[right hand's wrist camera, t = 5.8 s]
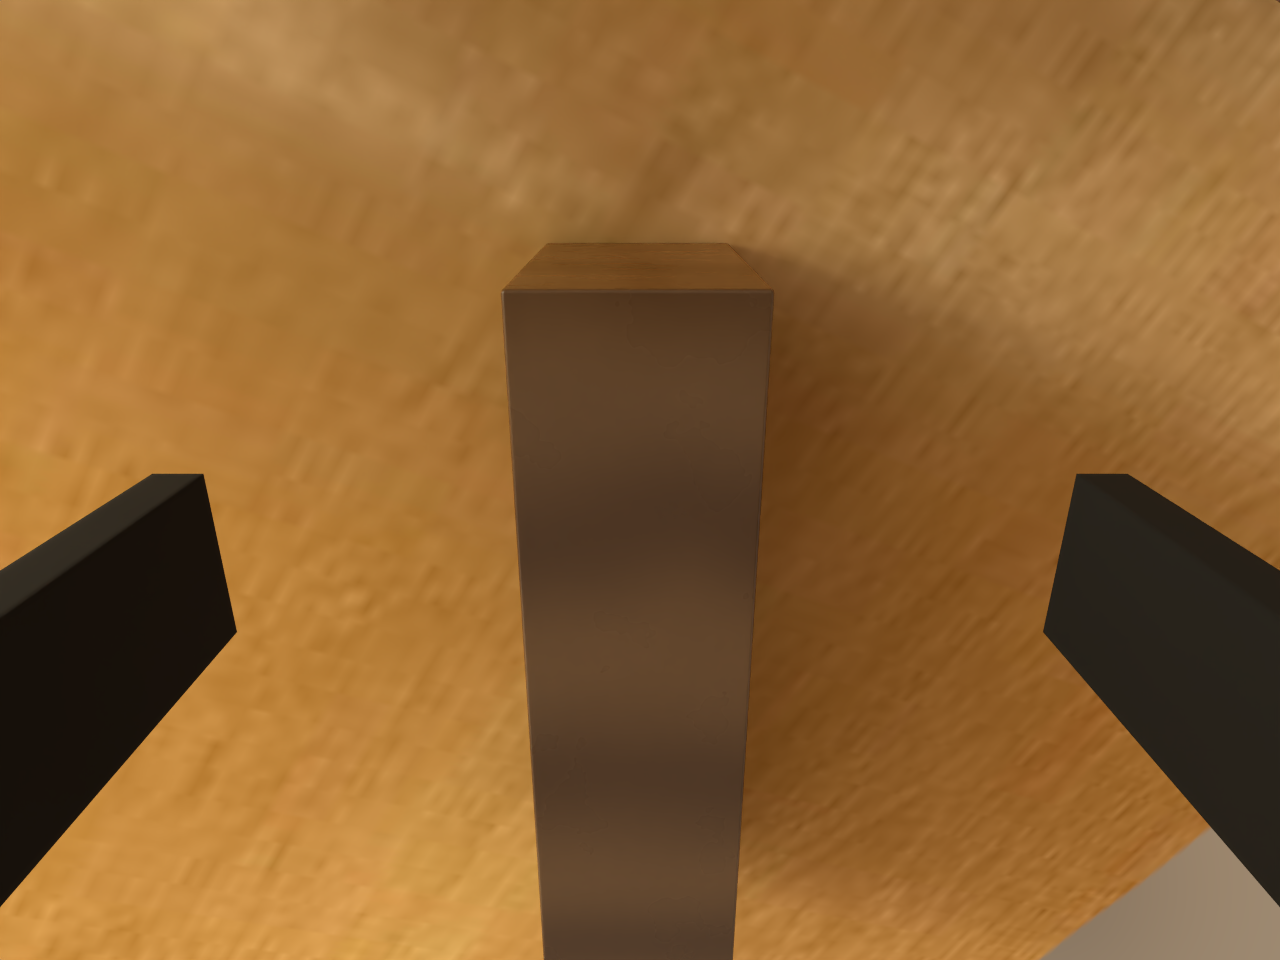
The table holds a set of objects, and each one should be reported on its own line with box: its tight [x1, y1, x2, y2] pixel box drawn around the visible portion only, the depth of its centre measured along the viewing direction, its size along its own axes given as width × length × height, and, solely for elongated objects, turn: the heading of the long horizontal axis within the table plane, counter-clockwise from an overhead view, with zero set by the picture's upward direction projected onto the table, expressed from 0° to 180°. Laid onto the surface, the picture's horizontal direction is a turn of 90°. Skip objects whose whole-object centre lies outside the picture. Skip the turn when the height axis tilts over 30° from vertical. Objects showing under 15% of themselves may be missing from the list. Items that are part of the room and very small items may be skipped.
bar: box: [501, 243, 774, 960], centre depth 24 cm, size 23×5×8 cm, turn 0°
